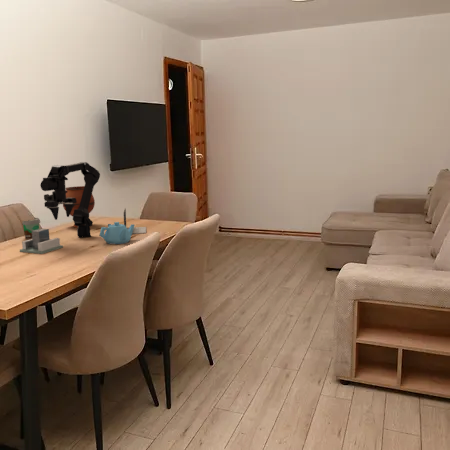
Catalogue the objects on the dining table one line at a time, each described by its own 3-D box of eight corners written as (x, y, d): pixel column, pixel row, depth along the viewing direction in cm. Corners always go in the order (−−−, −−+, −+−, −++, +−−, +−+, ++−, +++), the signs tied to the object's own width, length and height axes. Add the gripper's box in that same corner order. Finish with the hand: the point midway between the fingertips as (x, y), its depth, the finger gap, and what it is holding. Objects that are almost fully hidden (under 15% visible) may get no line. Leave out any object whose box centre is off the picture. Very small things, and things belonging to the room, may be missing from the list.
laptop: (146, 233, 278) (145, 211, 276) (124, 234, 276) (123, 212, 274) (146, 228, 296) (145, 207, 293) (125, 228, 294) (124, 208, 291)
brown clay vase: (58, 228, 295) (55, 188, 290) (74, 223, 313) (72, 185, 309) (86, 229, 291) (84, 189, 286) (101, 224, 309) (99, 185, 305)
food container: (33, 239, 265) (31, 221, 264) (23, 238, 267) (21, 221, 265) (45, 234, 277) (44, 217, 275) (36, 234, 279) (34, 217, 277)
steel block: (50, 246, 243) (48, 229, 241) (40, 249, 236) (38, 231, 235) (43, 245, 244) (41, 228, 243) (33, 248, 238) (31, 231, 236)
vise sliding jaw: (37, 243, 249) (37, 236, 249) (44, 244, 248) (44, 236, 247) (18, 248, 238) (18, 241, 237) (25, 249, 236) (25, 241, 235)
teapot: (109, 238, 265) (108, 219, 264) (135, 238, 263) (134, 219, 261) (98, 244, 251) (97, 224, 249) (126, 245, 248) (125, 224, 246)
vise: (41, 245, 250) (40, 235, 249) (63, 247, 245) (62, 237, 244) (19, 251, 236) (18, 241, 235) (41, 253, 231) (41, 243, 230)
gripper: (59, 187, 264) (61, 214, 266) (35, 190, 247) (37, 220, 249) (76, 187, 260) (78, 215, 262) (52, 191, 243) (54, 221, 245)
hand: (62, 218), depth 255 cm, fingers open, 9 cm apart
